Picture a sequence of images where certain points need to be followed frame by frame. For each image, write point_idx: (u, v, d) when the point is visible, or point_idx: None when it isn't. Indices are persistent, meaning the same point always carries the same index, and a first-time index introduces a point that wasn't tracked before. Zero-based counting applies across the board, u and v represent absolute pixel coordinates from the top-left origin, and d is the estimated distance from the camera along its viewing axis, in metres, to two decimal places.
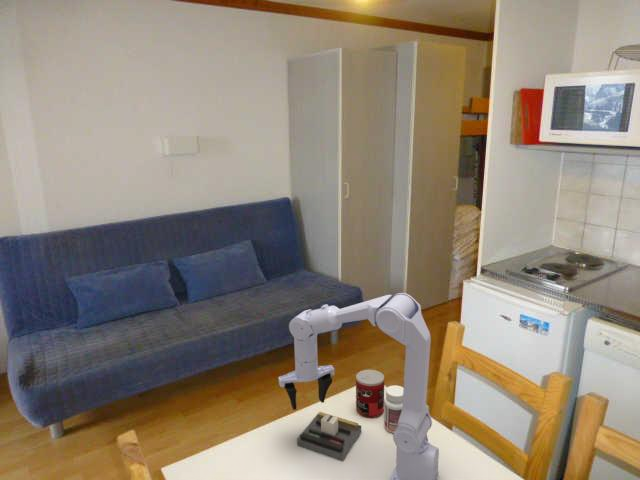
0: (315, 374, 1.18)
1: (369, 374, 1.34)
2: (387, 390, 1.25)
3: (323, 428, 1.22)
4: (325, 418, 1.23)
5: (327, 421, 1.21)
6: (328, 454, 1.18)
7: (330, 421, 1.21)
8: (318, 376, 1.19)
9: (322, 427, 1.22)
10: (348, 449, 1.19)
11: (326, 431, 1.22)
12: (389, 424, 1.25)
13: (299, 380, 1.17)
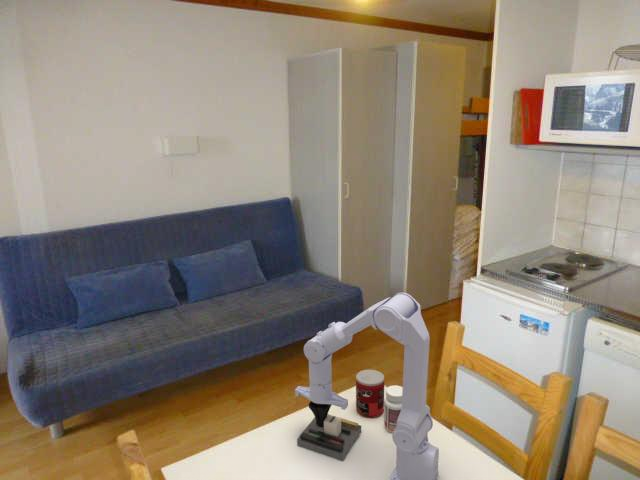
0: (321, 399, 1.19)
1: (369, 374, 1.34)
2: (387, 390, 1.25)
3: (326, 429, 1.22)
4: (328, 419, 1.22)
5: (330, 422, 1.21)
6: (328, 454, 1.18)
7: (333, 422, 1.21)
8: (324, 402, 1.19)
9: (325, 428, 1.22)
10: (348, 449, 1.19)
11: (329, 431, 1.22)
12: (389, 424, 1.25)
13: (307, 397, 1.21)
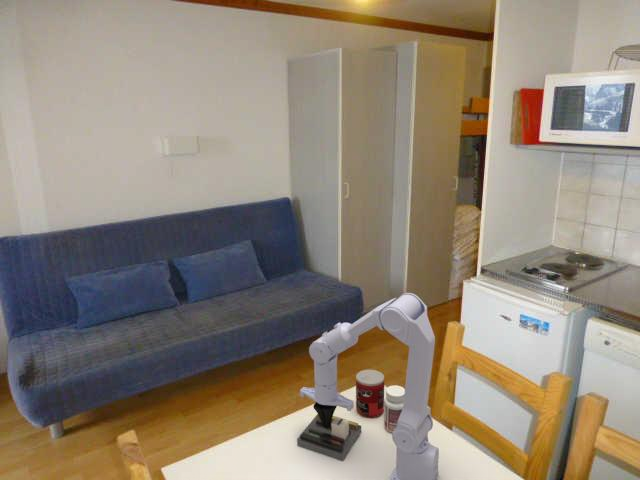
0: (327, 400, 1.18)
1: (369, 374, 1.34)
2: (387, 390, 1.25)
3: (334, 431, 1.21)
4: (336, 421, 1.21)
5: (338, 424, 1.20)
6: (328, 454, 1.18)
7: (341, 424, 1.20)
8: (330, 403, 1.18)
9: (333, 430, 1.21)
10: (348, 449, 1.19)
11: (337, 434, 1.21)
12: (389, 424, 1.25)
13: (312, 398, 1.20)
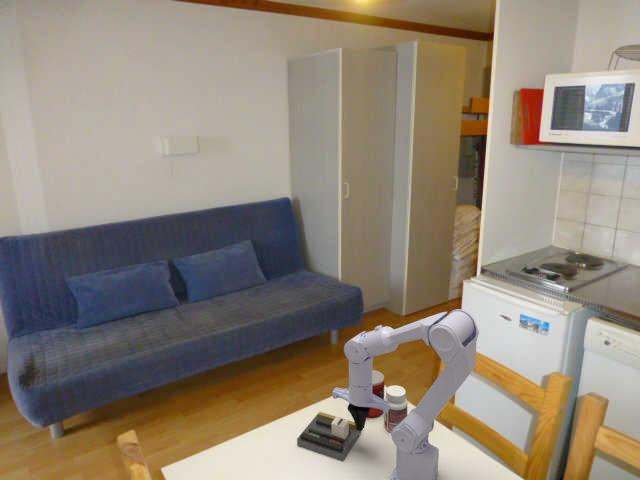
0: (362, 401, 1.13)
1: None
2: (387, 390, 1.25)
3: (334, 431, 1.21)
4: (336, 421, 1.21)
5: (338, 424, 1.20)
6: (328, 454, 1.18)
7: (341, 424, 1.20)
8: (365, 405, 1.13)
9: (333, 430, 1.21)
10: (348, 449, 1.19)
11: (337, 434, 1.21)
12: (389, 424, 1.25)
13: (346, 399, 1.15)
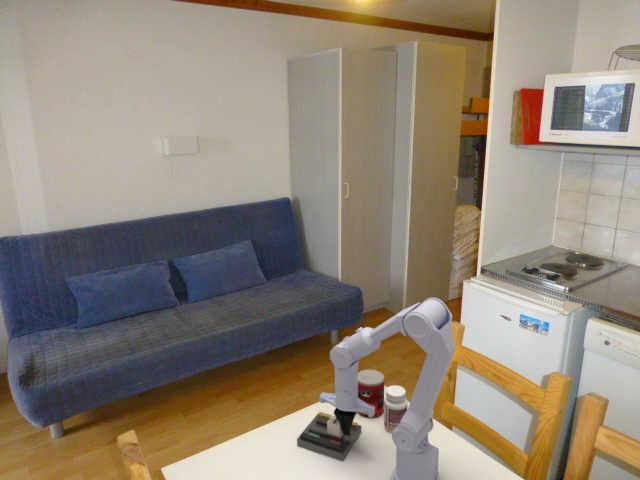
0: (348, 406, 1.16)
1: (369, 374, 1.34)
2: (387, 390, 1.25)
3: (330, 430, 1.22)
4: (331, 420, 1.22)
5: (333, 423, 1.21)
6: (328, 454, 1.18)
7: (336, 423, 1.21)
8: (351, 409, 1.15)
9: (328, 429, 1.22)
10: (348, 449, 1.19)
11: (333, 432, 1.21)
12: (389, 424, 1.25)
13: (333, 404, 1.18)
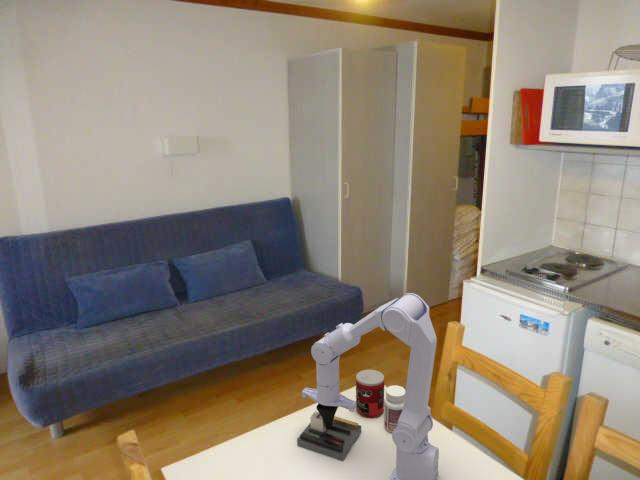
0: (329, 401, 1.18)
1: (369, 374, 1.34)
2: (387, 390, 1.25)
3: (313, 425, 1.24)
4: (315, 415, 1.24)
5: (316, 418, 1.23)
6: (328, 454, 1.18)
7: (319, 418, 1.23)
8: (332, 404, 1.18)
9: (312, 423, 1.24)
10: (348, 449, 1.19)
11: (316, 427, 1.23)
12: (389, 424, 1.25)
13: (314, 399, 1.20)
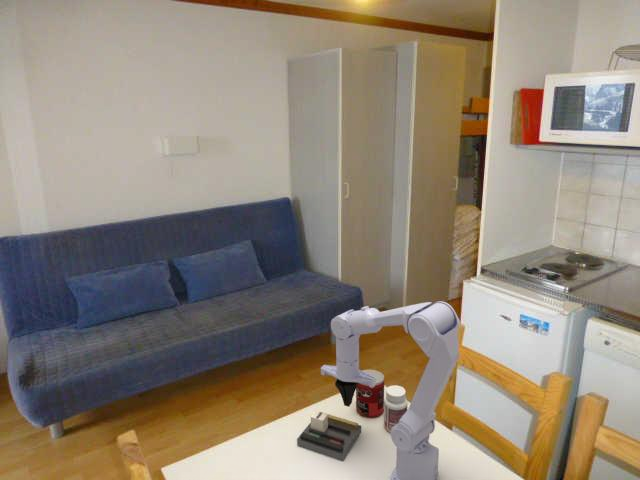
0: (349, 377, 1.17)
1: (369, 374, 1.34)
2: (387, 390, 1.25)
3: (313, 425, 1.24)
4: (315, 415, 1.24)
5: (317, 418, 1.23)
6: (328, 454, 1.18)
7: (320, 418, 1.23)
8: (352, 380, 1.17)
9: (312, 423, 1.24)
10: (348, 449, 1.19)
11: (316, 427, 1.23)
12: (389, 424, 1.25)
13: (334, 375, 1.19)
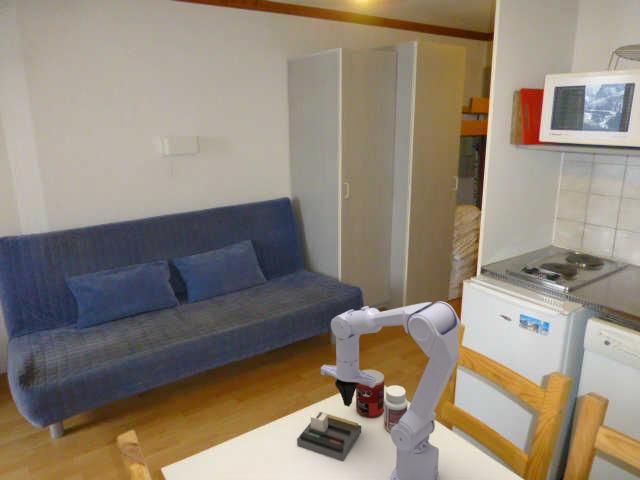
0: (349, 376, 1.17)
1: (369, 374, 1.34)
2: (387, 390, 1.25)
3: (313, 425, 1.24)
4: (315, 415, 1.24)
5: (317, 418, 1.23)
6: (328, 454, 1.18)
7: (320, 418, 1.23)
8: (352, 380, 1.17)
9: (312, 423, 1.24)
10: (348, 449, 1.19)
11: (316, 427, 1.23)
12: (389, 424, 1.25)
13: (334, 375, 1.19)
